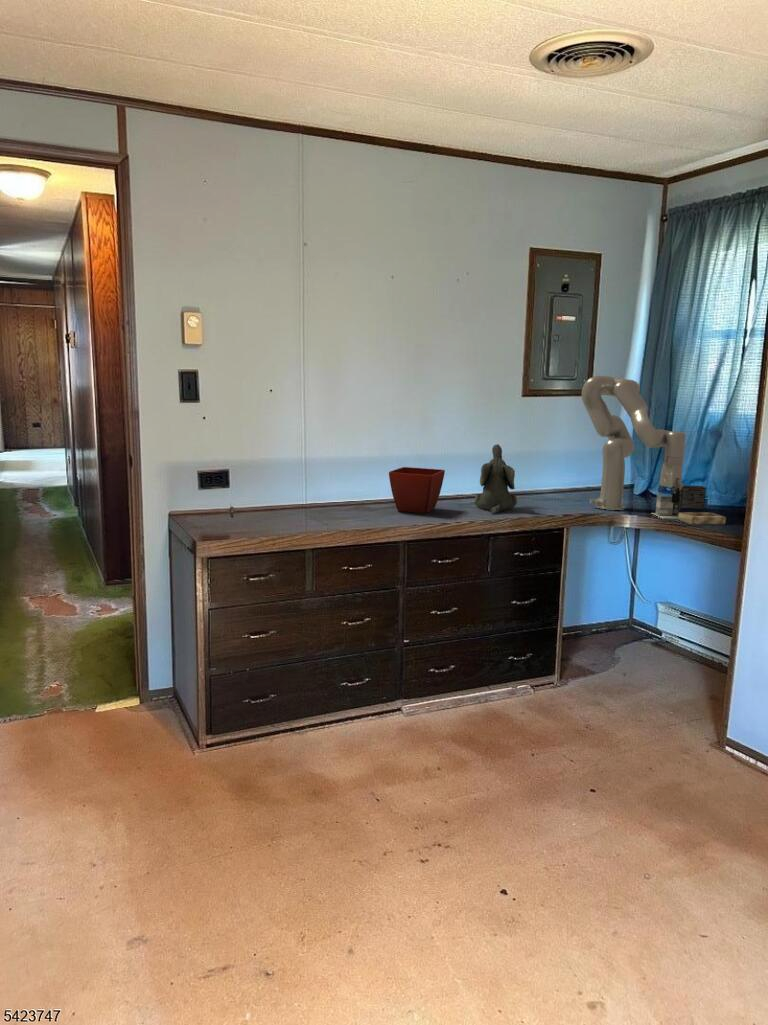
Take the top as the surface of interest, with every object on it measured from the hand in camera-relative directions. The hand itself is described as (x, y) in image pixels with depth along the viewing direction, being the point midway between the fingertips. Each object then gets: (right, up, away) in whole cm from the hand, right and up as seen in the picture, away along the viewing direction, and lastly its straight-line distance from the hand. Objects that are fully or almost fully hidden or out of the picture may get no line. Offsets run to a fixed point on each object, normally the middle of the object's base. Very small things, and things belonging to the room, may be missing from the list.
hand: (669, 500), depth 324 cm
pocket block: (+11, -9, -8) cm, 16 cm away
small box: (+18, -4, +23) cm, 30 cm away
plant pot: (-108, -4, -2) cm, 108 cm away
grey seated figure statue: (-73, -4, +7) cm, 74 cm away
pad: (0, -7, +1) cm, 7 cm away
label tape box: (0, -6, +2) cm, 7 cm away
